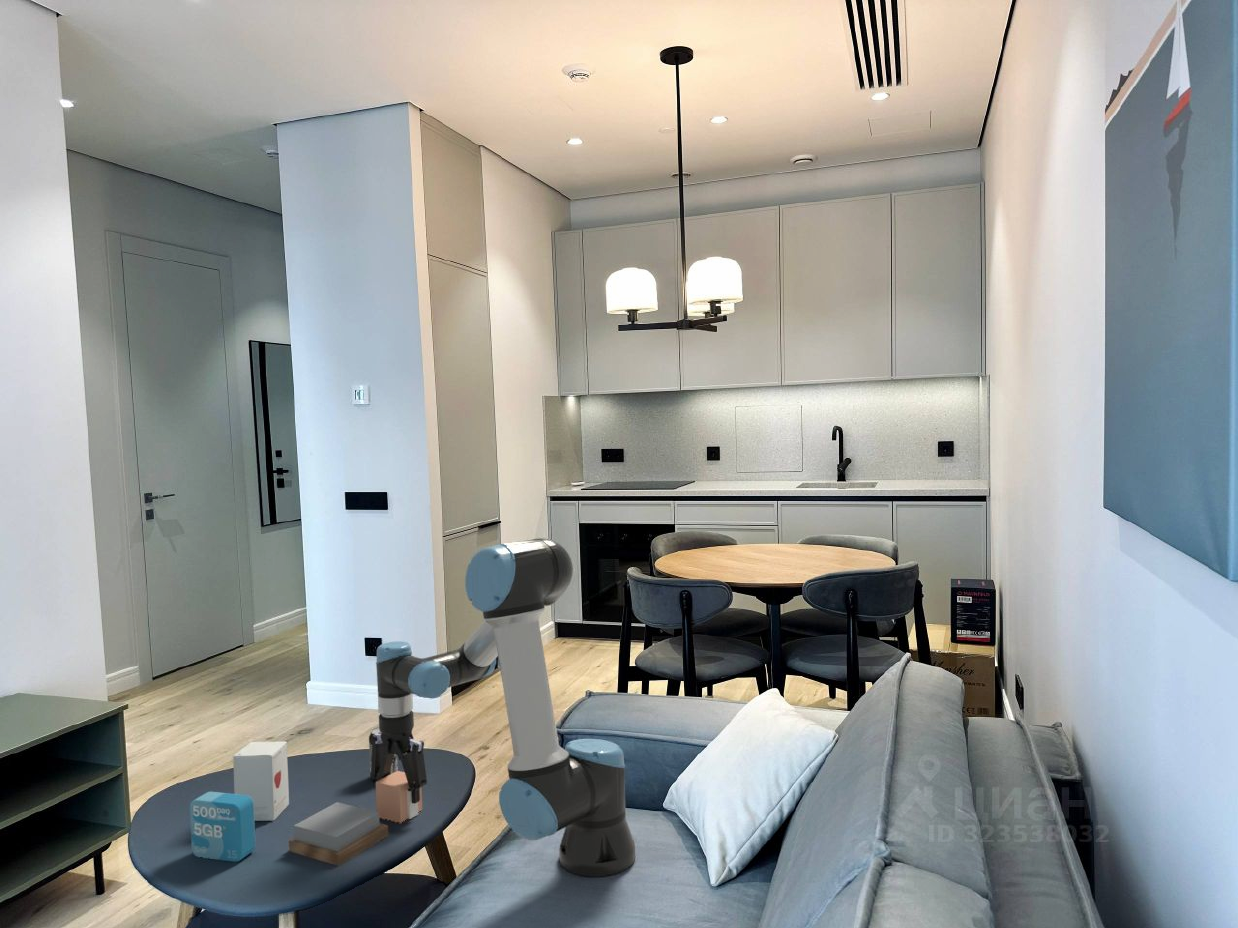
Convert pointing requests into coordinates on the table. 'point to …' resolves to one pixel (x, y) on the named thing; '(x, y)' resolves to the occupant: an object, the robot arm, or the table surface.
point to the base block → (344, 853)
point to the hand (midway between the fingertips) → (399, 812)
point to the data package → (222, 826)
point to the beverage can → (374, 731)
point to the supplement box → (263, 777)
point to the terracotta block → (394, 797)
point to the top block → (336, 826)
